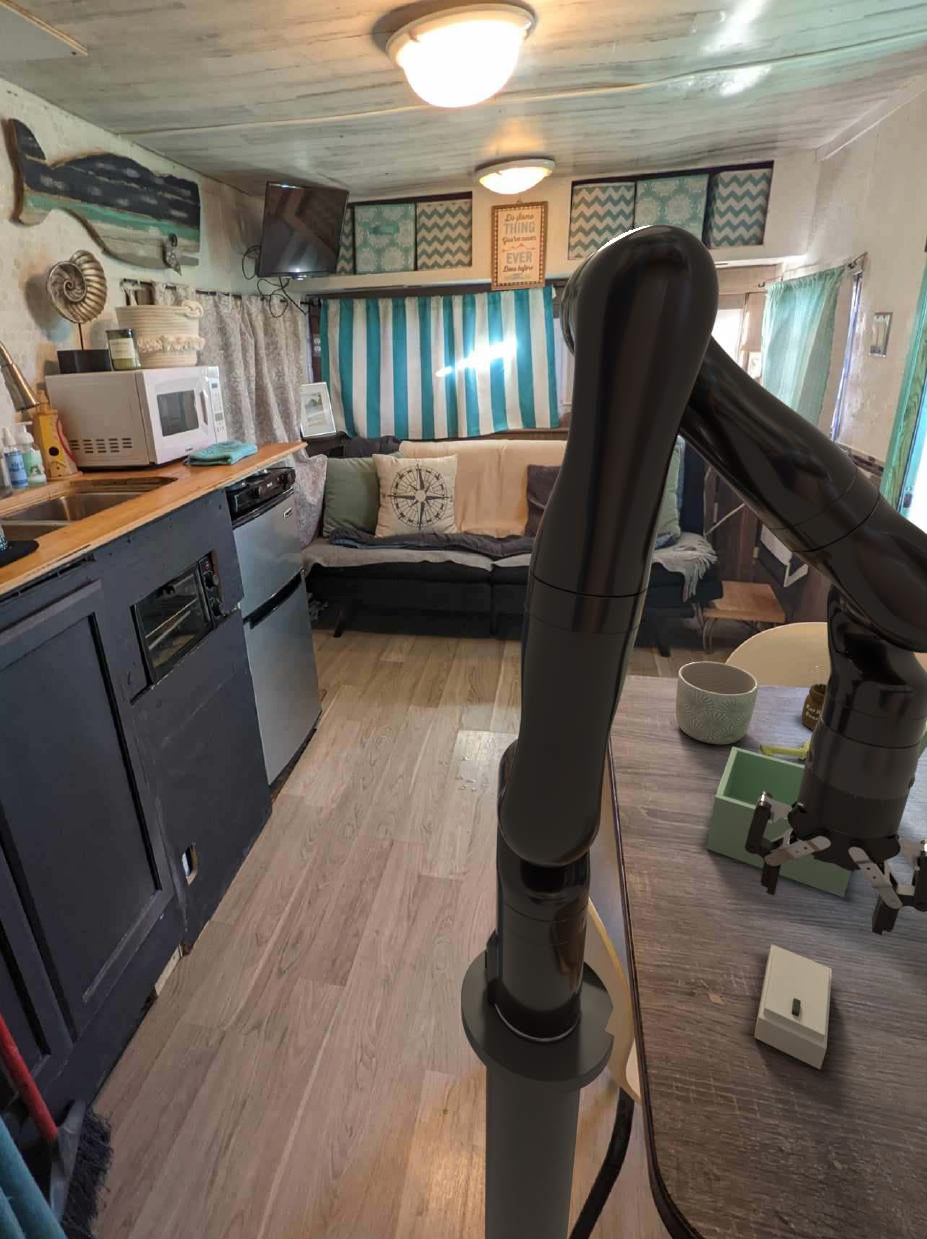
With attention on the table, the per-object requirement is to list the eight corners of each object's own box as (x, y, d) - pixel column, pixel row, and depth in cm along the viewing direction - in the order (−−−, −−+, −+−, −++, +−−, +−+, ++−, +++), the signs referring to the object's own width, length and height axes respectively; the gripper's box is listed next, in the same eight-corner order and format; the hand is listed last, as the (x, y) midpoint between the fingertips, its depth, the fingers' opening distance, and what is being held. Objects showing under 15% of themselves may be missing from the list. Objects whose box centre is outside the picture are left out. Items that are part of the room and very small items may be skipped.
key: (753, 754, 107) (755, 743, 106) (819, 745, 109) (822, 734, 108) (785, 781, 100) (787, 769, 100) (854, 770, 102) (857, 759, 101)
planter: (746, 759, 106) (756, 702, 102) (666, 740, 112) (673, 685, 108) (751, 723, 116) (761, 669, 112) (677, 707, 122) (684, 655, 118)
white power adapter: (820, 1070, 61) (829, 1038, 59) (753, 1037, 64) (761, 1006, 63) (826, 988, 69) (835, 958, 67) (767, 963, 72) (773, 933, 70)
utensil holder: (802, 712, 118) (814, 654, 114) (843, 722, 114) (857, 662, 110) (798, 727, 114) (810, 667, 109) (840, 738, 110) (855, 676, 106)
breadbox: (706, 848, 88) (715, 796, 85) (724, 794, 98) (732, 746, 95) (843, 897, 79) (858, 841, 76) (847, 832, 90) (861, 780, 86)
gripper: (959, 772, 55) (912, 913, 61) (769, 726, 63) (744, 855, 69) (969, 823, 49) (916, 973, 55) (759, 765, 57) (733, 902, 63)
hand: (821, 907), depth 62 cm, fingers open, 8 cm apart
